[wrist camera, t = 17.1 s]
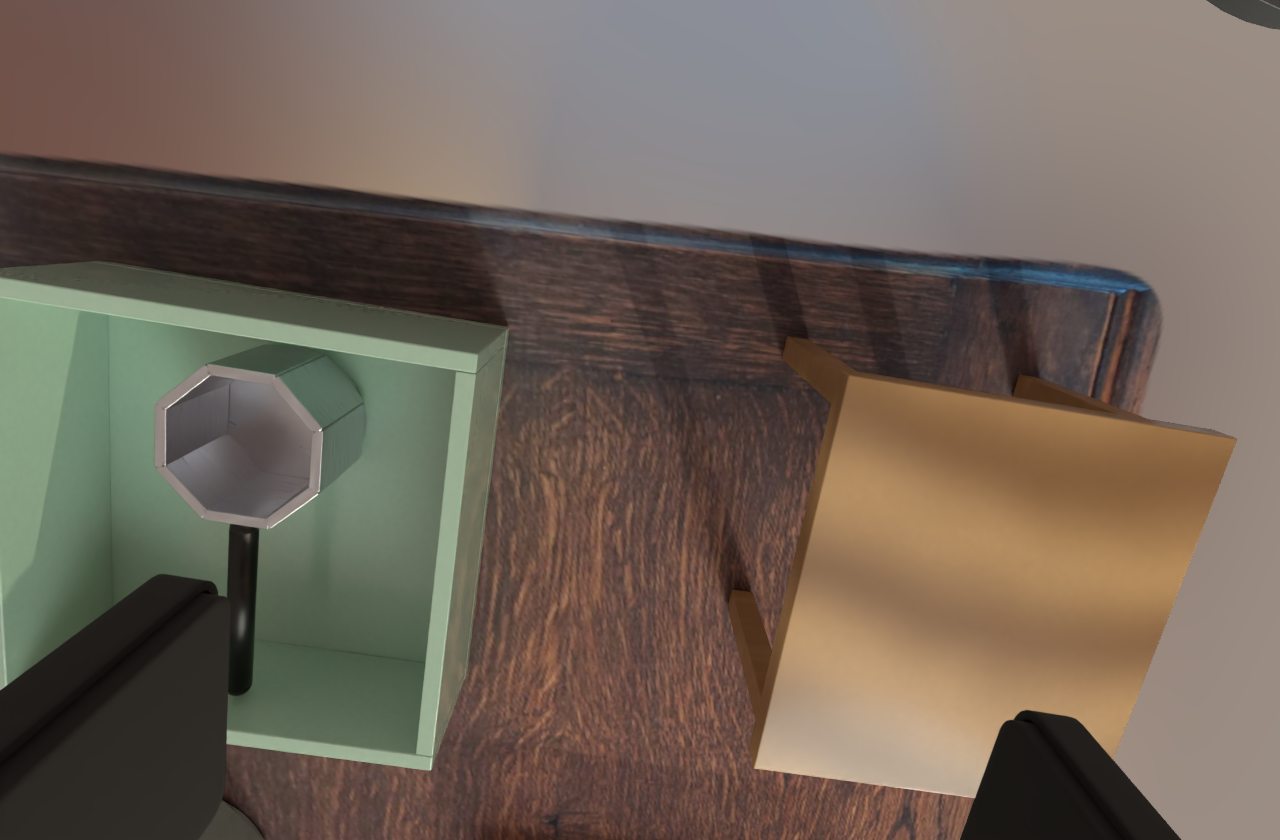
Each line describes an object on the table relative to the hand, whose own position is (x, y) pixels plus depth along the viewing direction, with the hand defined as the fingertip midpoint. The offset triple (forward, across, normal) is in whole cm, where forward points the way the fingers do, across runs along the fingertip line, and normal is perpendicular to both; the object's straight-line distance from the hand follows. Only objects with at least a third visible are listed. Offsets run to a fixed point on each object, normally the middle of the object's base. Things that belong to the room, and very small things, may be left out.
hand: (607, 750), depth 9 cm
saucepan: (+28, +16, +11) cm, 34 cm away
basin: (+29, +16, +10) cm, 34 cm away
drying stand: (+29, -14, +6) cm, 33 cm away
